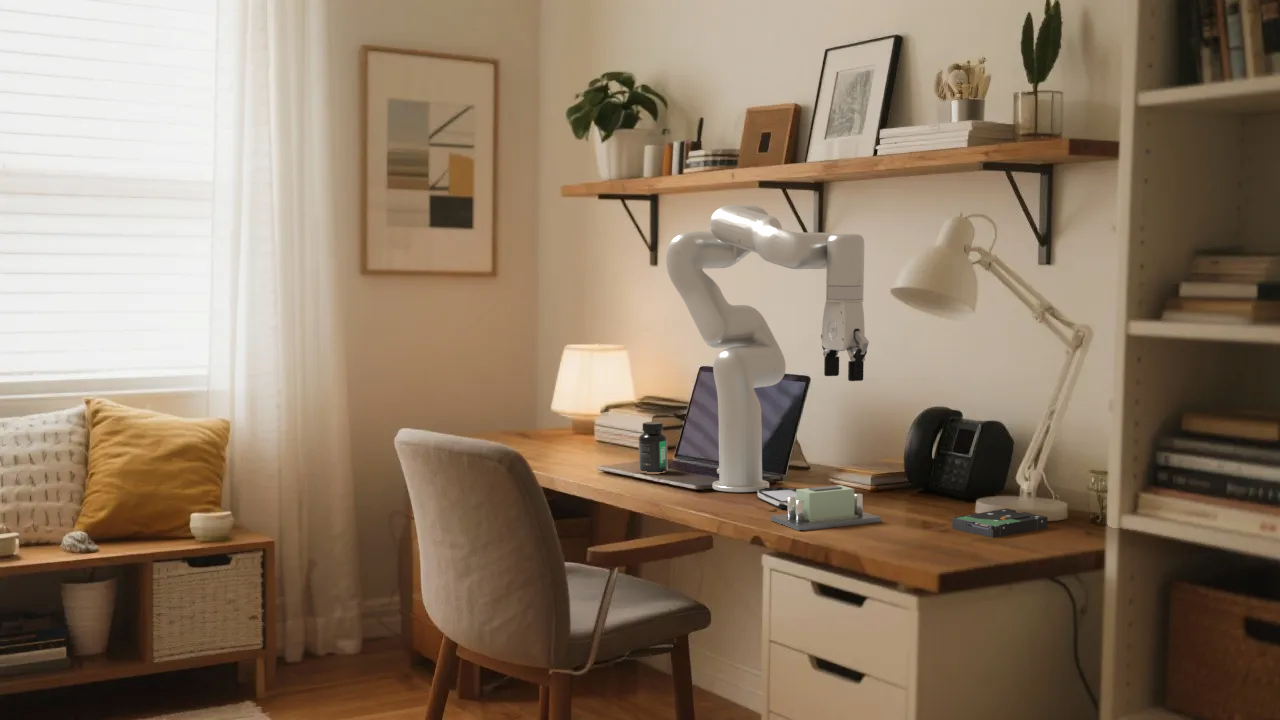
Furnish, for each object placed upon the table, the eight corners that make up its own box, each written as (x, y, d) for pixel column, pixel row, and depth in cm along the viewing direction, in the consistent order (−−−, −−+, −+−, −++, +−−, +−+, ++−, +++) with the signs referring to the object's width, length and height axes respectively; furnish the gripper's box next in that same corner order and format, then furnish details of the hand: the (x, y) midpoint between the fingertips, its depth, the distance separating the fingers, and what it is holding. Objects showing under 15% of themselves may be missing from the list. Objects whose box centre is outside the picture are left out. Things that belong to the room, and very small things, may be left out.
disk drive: (1005, 522, 258) (950, 531, 250) (1005, 508, 258) (951, 516, 250) (1048, 531, 249) (993, 540, 241) (1048, 516, 249) (993, 525, 241)
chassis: (770, 520, 260) (770, 495, 260) (849, 512, 267) (849, 487, 267) (799, 531, 250) (798, 504, 250) (880, 522, 257) (880, 496, 257)
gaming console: (826, 511, 271) (826, 499, 271) (785, 514, 269) (785, 501, 269) (790, 495, 290) (790, 484, 290) (751, 498, 288) (751, 486, 287)
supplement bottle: (670, 473, 319) (669, 424, 318) (642, 475, 318) (641, 425, 317) (663, 469, 326) (663, 420, 325) (636, 471, 325) (635, 421, 324)
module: (796, 514, 259) (796, 487, 259) (840, 510, 263) (840, 483, 263) (809, 519, 255) (809, 491, 254) (854, 514, 259) (854, 487, 258)
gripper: (808, 293, 278) (806, 374, 280) (850, 297, 262) (848, 383, 264) (839, 292, 281) (838, 373, 283) (883, 296, 265) (881, 382, 267)
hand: (843, 378), depth 273 cm, fingers open, 9 cm apart
